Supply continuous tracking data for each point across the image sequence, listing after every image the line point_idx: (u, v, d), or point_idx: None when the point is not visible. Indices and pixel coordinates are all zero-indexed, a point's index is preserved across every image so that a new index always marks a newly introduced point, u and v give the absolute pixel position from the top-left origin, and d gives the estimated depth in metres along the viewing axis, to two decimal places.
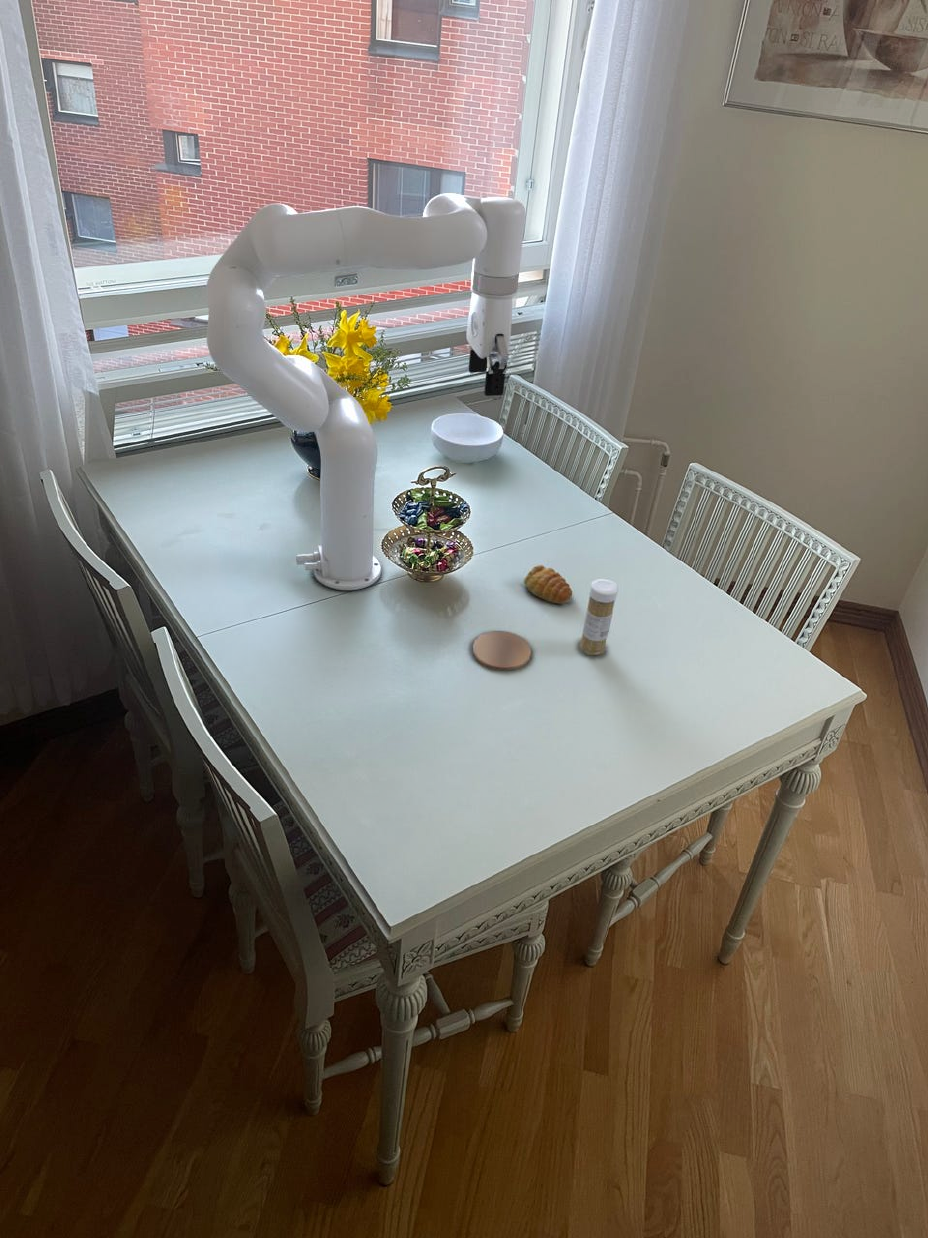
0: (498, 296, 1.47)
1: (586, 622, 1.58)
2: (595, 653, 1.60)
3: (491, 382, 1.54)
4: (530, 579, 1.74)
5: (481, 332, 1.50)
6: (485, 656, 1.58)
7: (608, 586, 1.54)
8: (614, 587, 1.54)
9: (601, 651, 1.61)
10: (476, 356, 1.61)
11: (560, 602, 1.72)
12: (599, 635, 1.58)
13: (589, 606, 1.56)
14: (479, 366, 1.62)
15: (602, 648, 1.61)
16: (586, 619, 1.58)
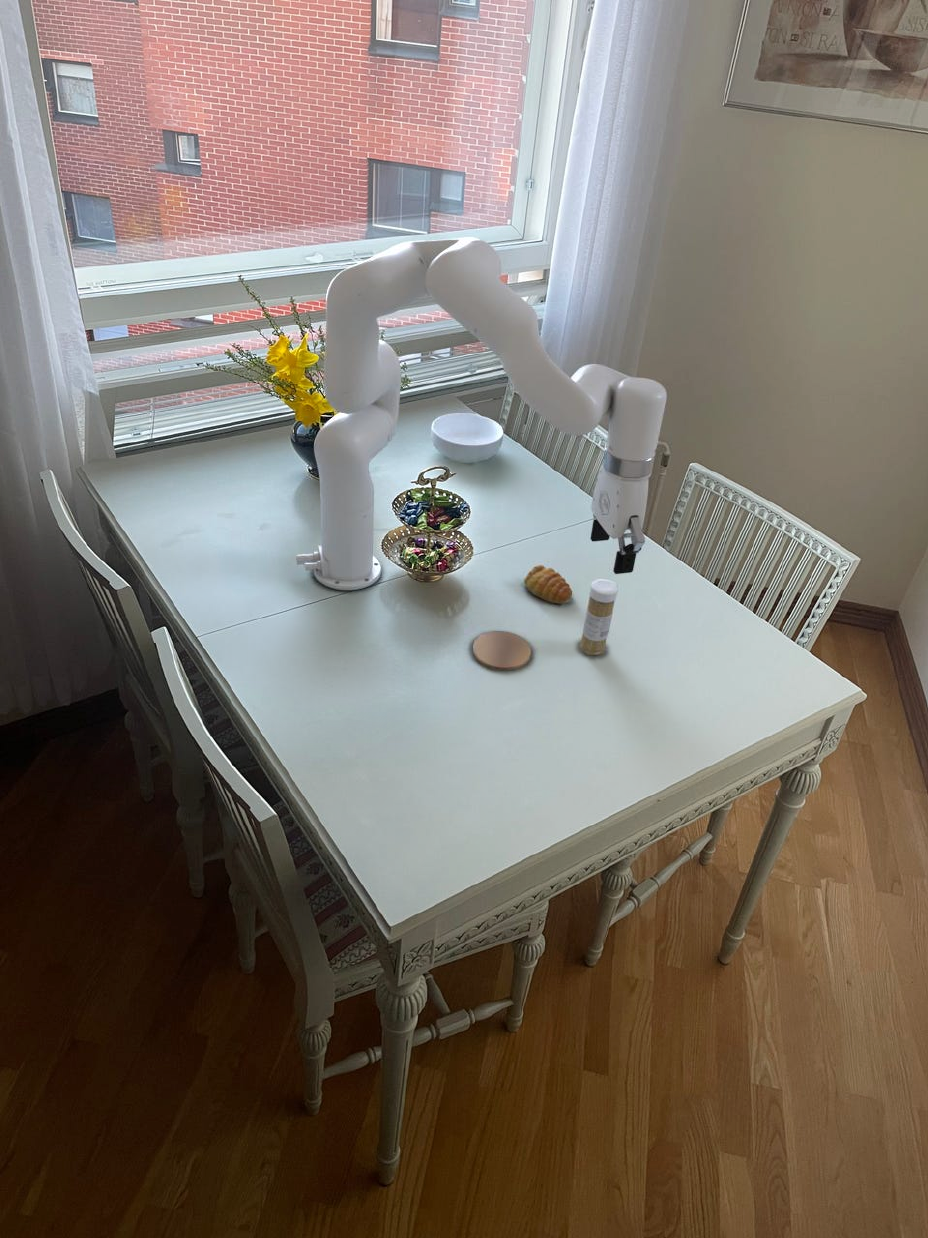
0: (634, 479, 1.38)
1: (586, 622, 1.58)
2: (595, 653, 1.60)
3: (622, 562, 1.45)
4: (530, 579, 1.74)
5: (614, 513, 1.41)
6: (485, 656, 1.58)
7: (608, 586, 1.54)
8: (614, 587, 1.54)
9: (601, 651, 1.61)
10: (600, 526, 1.52)
11: (560, 602, 1.72)
12: (599, 635, 1.58)
13: (589, 606, 1.56)
14: (602, 535, 1.54)
15: (602, 648, 1.61)
16: (586, 619, 1.58)
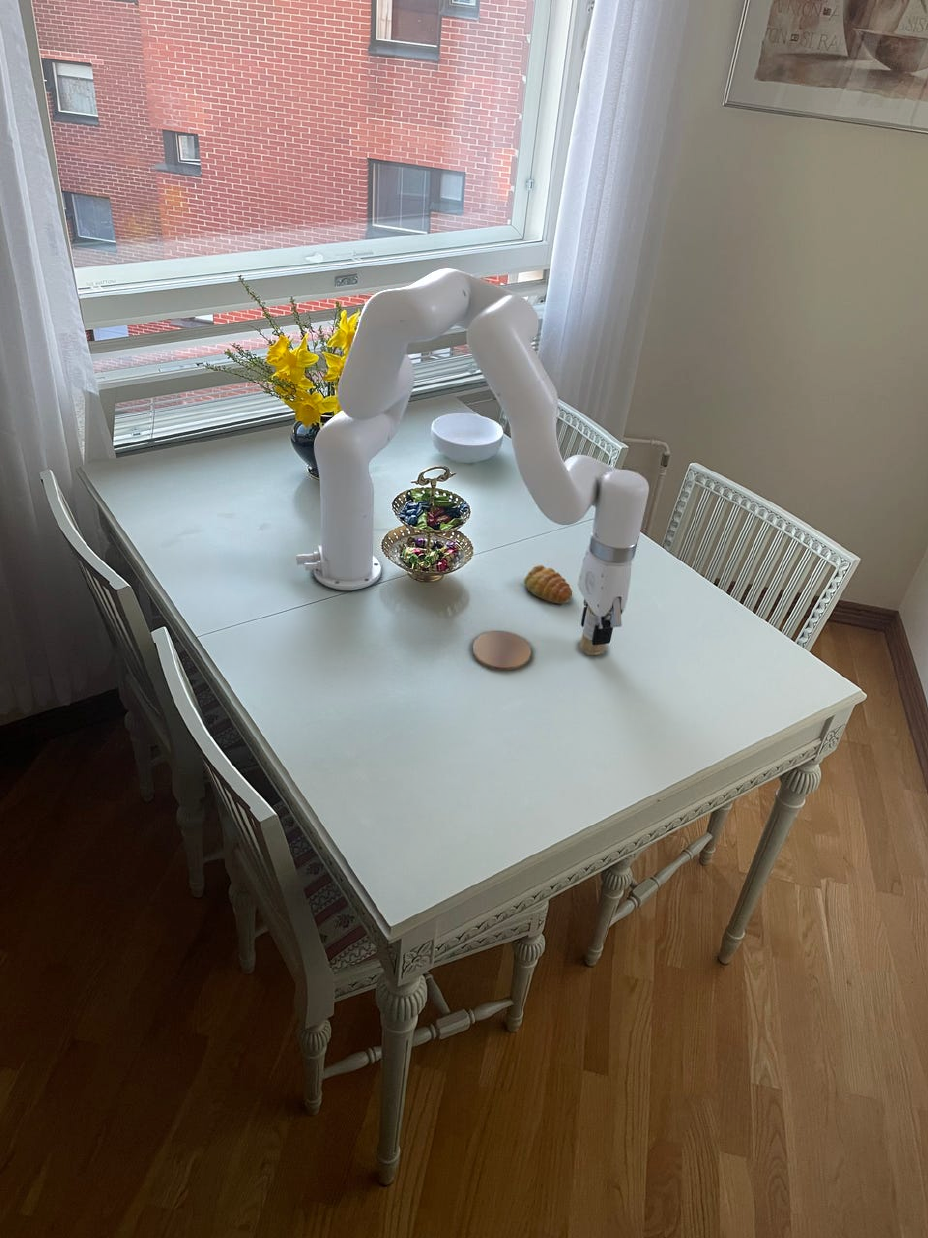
0: (618, 563, 1.47)
1: (586, 622, 1.58)
2: (595, 653, 1.60)
3: (600, 635, 1.56)
4: (530, 579, 1.74)
5: (599, 594, 1.50)
6: (485, 656, 1.58)
7: None
8: None
9: (601, 651, 1.61)
10: None
11: (560, 602, 1.72)
12: None
13: (589, 606, 1.56)
14: None
15: (602, 648, 1.61)
16: (586, 619, 1.58)
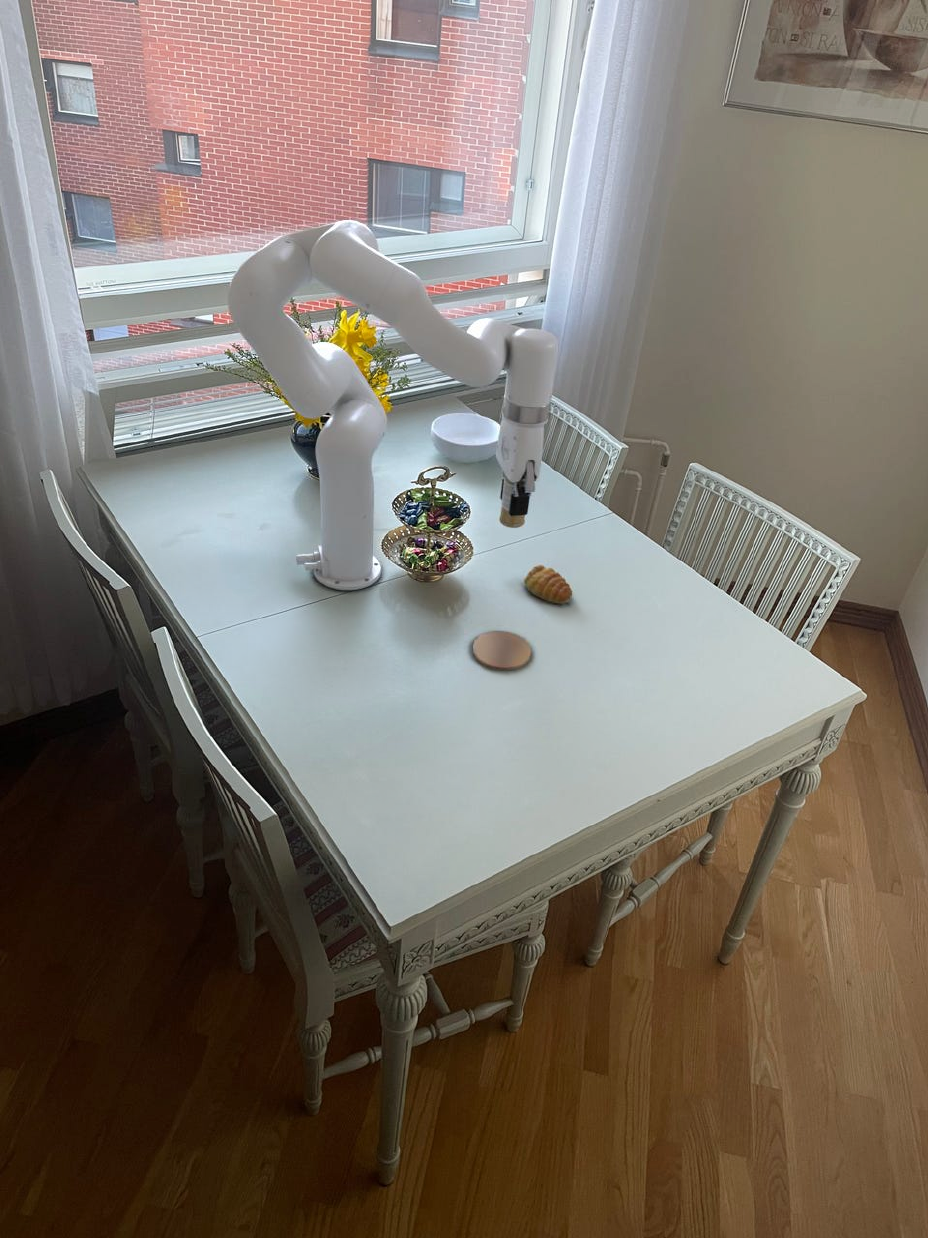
0: (530, 425, 1.47)
1: (504, 492, 1.58)
2: (514, 525, 1.60)
3: (516, 504, 1.56)
4: (530, 579, 1.74)
5: (512, 458, 1.50)
6: (485, 656, 1.58)
7: None
8: None
9: (520, 524, 1.61)
10: None
11: (560, 602, 1.72)
12: None
13: None
14: None
15: (521, 520, 1.60)
16: (504, 489, 1.58)
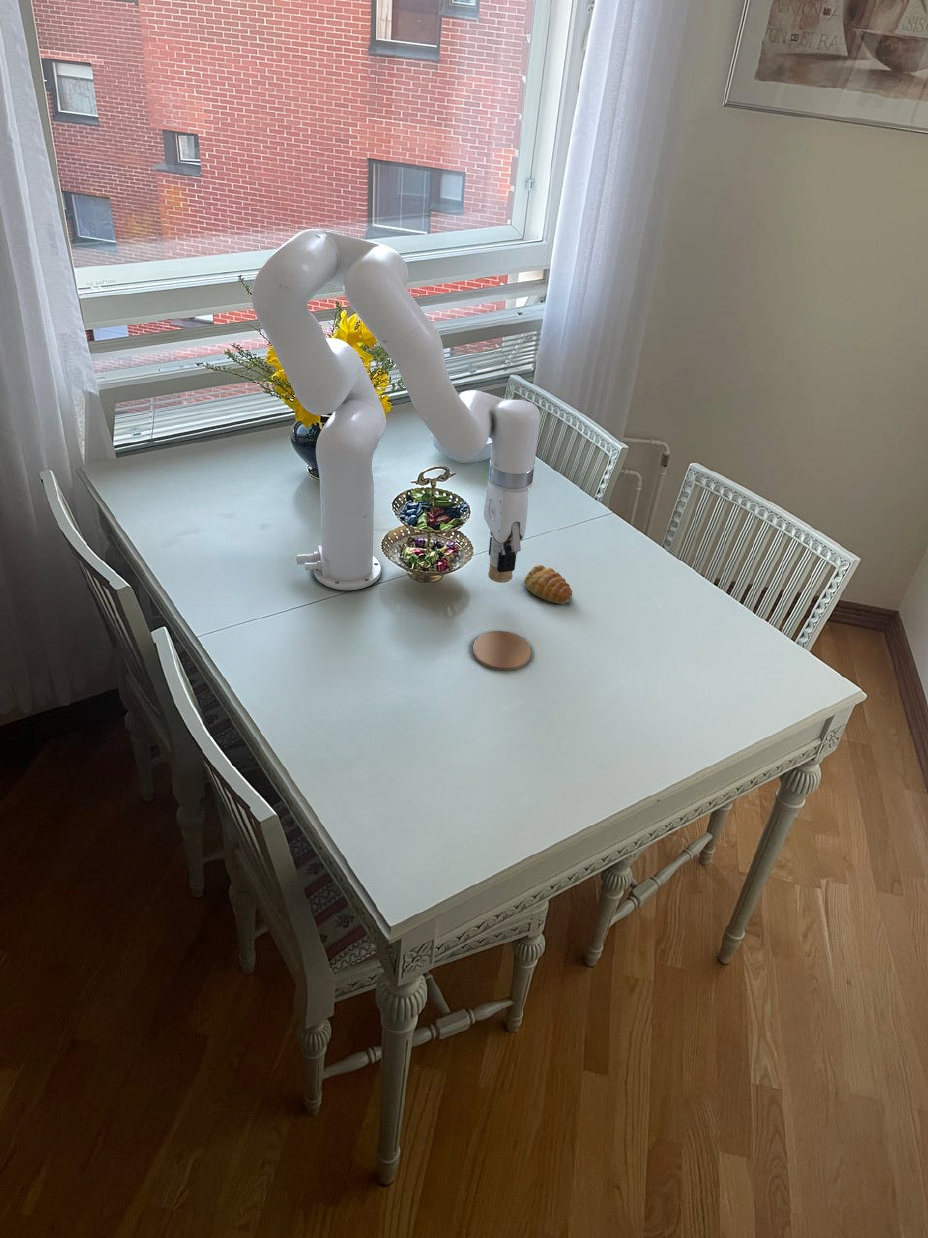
0: (515, 489, 1.55)
1: (492, 550, 1.66)
2: (502, 580, 1.68)
3: (503, 561, 1.64)
4: (530, 579, 1.74)
5: (498, 520, 1.58)
6: (485, 656, 1.58)
7: None
8: None
9: (508, 579, 1.69)
10: None
11: (560, 602, 1.72)
12: None
13: None
14: None
15: (508, 576, 1.69)
16: (491, 547, 1.66)
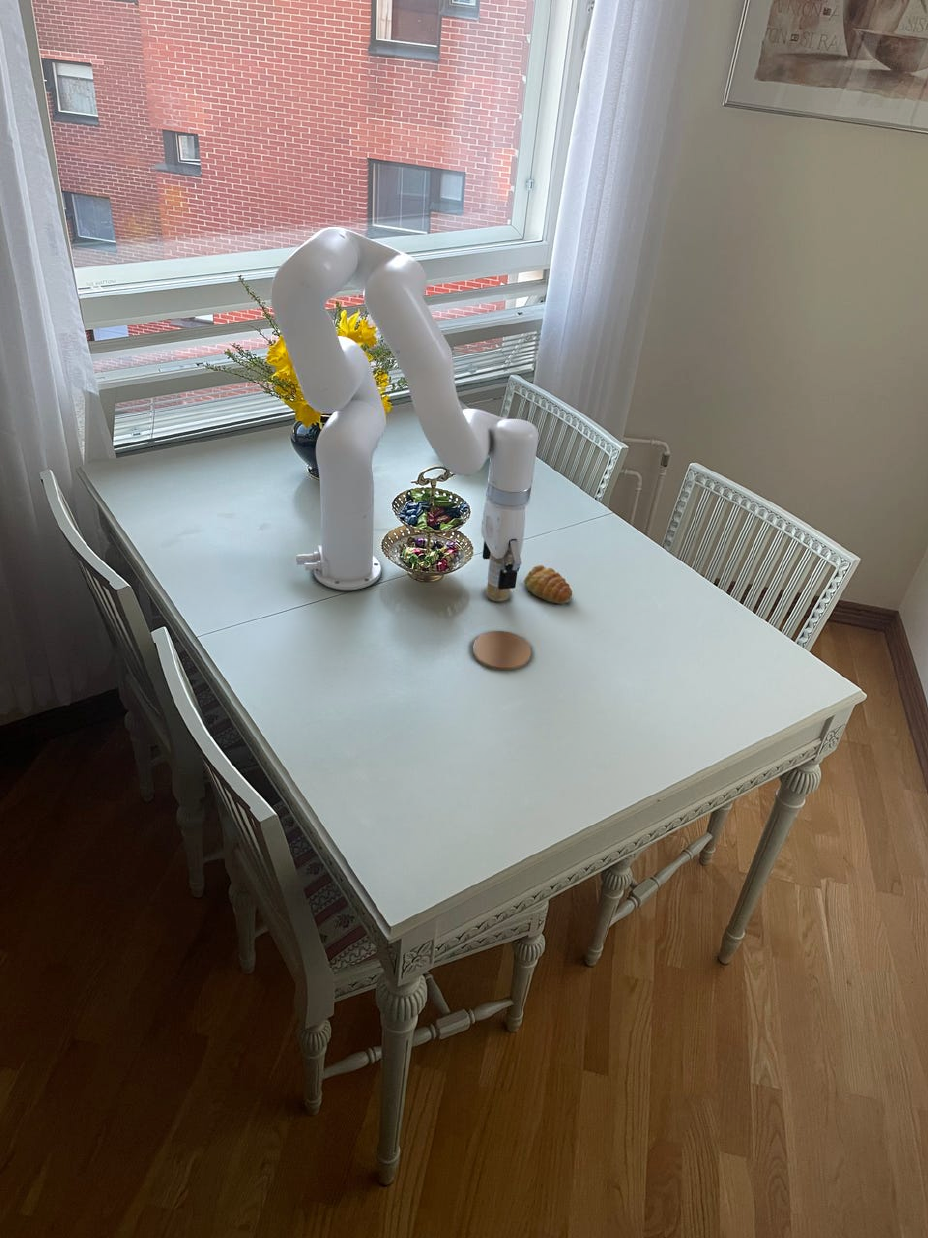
0: (512, 507, 1.57)
1: (489, 569, 1.69)
2: (499, 599, 1.71)
3: (504, 579, 1.64)
4: (530, 579, 1.74)
5: (496, 537, 1.60)
6: (485, 656, 1.58)
7: None
8: None
9: (505, 597, 1.71)
10: None
11: (560, 602, 1.72)
12: None
13: (491, 554, 1.67)
14: None
15: (506, 594, 1.71)
16: (489, 566, 1.69)
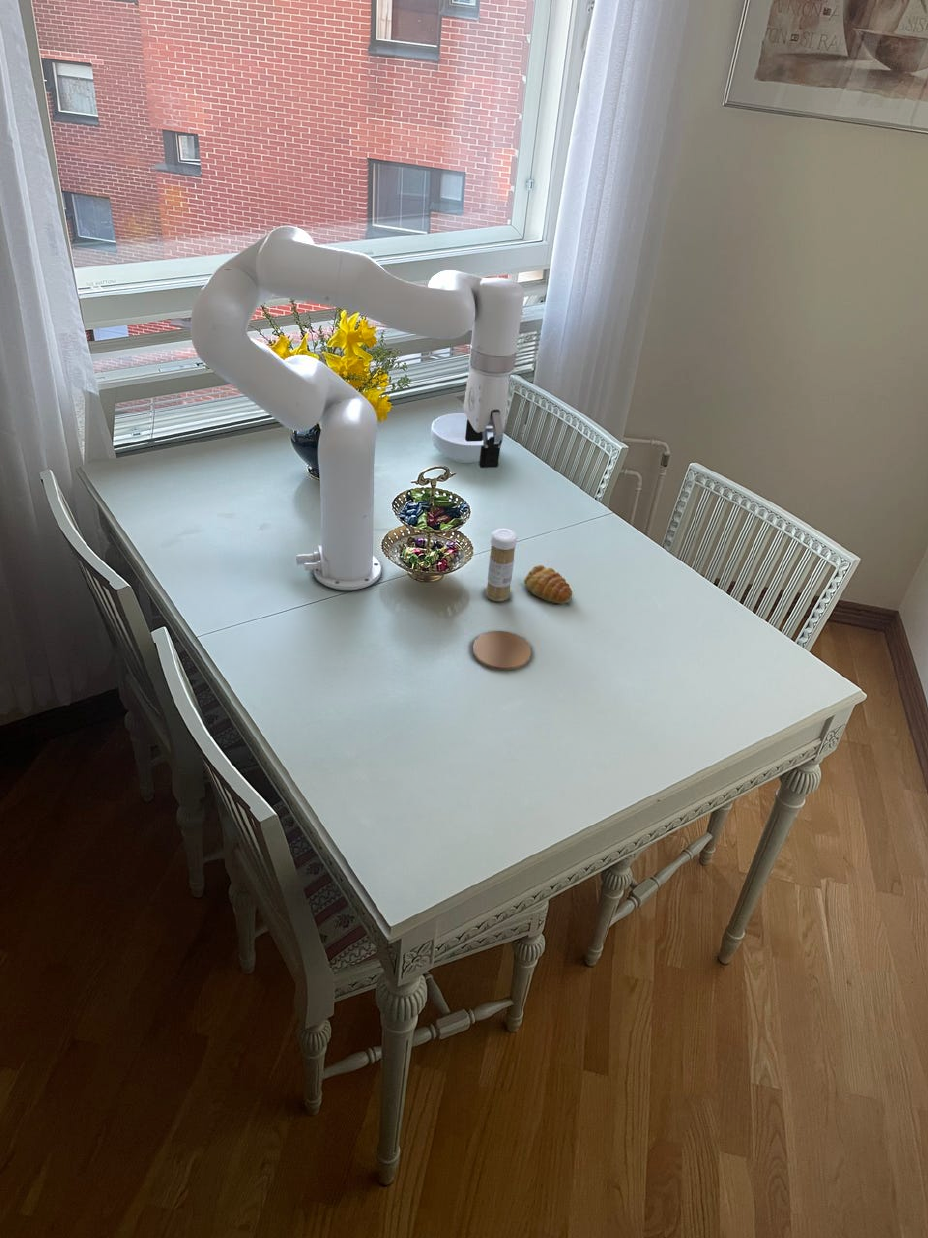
0: (495, 374, 1.49)
1: (489, 569, 1.69)
2: (499, 599, 1.71)
3: (486, 455, 1.55)
4: (530, 579, 1.74)
5: (477, 407, 1.52)
6: (485, 656, 1.58)
7: (507, 534, 1.65)
8: (513, 535, 1.65)
9: (505, 597, 1.71)
10: (473, 426, 1.63)
11: (560, 602, 1.72)
12: (501, 582, 1.69)
13: (491, 554, 1.67)
14: (475, 436, 1.64)
15: (506, 594, 1.71)
16: (489, 566, 1.69)
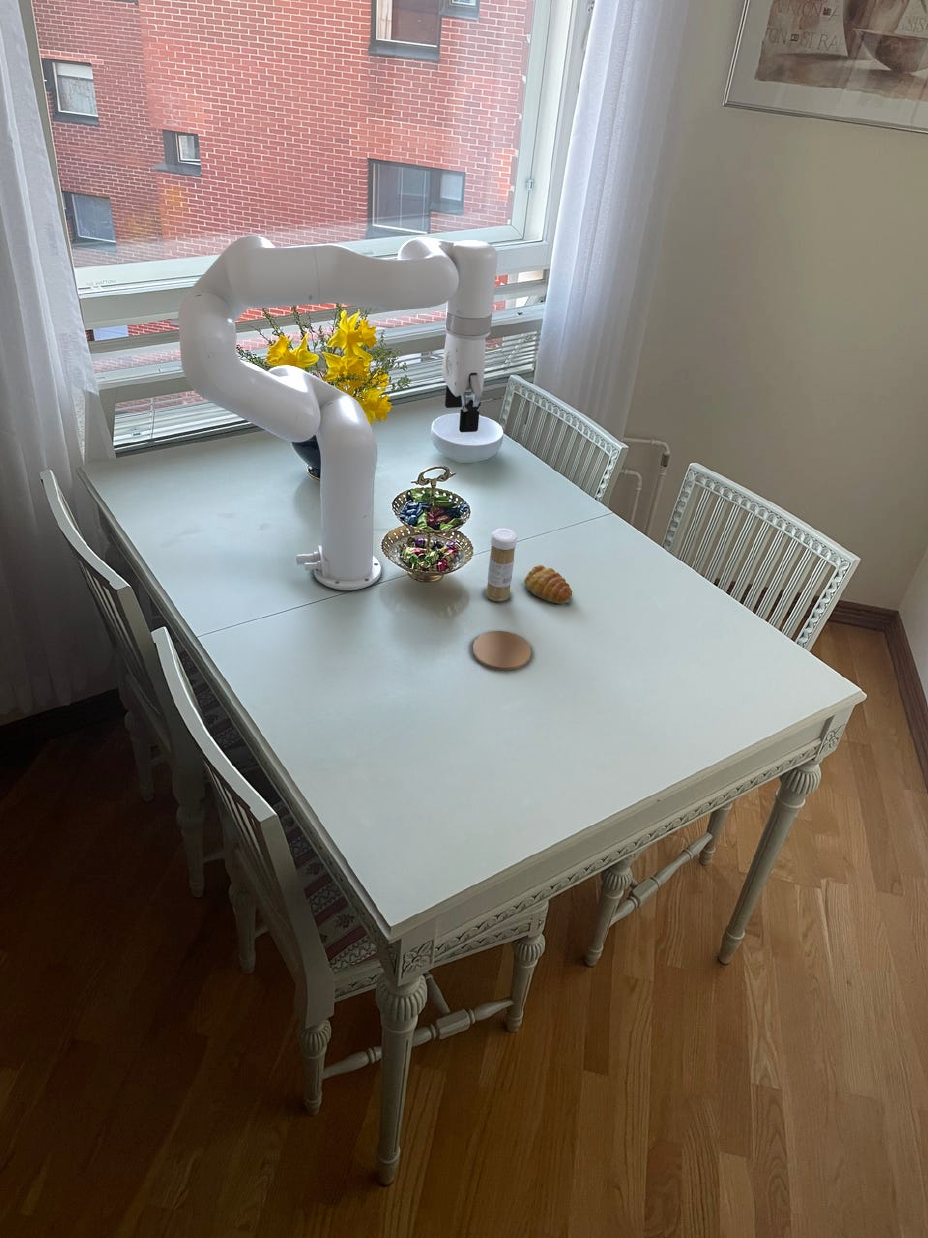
0: (471, 337, 1.50)
1: (489, 569, 1.69)
2: (499, 599, 1.71)
3: (466, 419, 1.56)
4: (530, 579, 1.74)
5: (455, 371, 1.53)
6: (485, 656, 1.58)
7: (507, 534, 1.65)
8: (513, 535, 1.65)
9: (505, 597, 1.71)
10: (452, 392, 1.64)
11: (560, 602, 1.72)
12: (501, 582, 1.69)
13: (491, 554, 1.67)
14: (455, 402, 1.65)
15: (506, 594, 1.71)
16: (489, 566, 1.69)
